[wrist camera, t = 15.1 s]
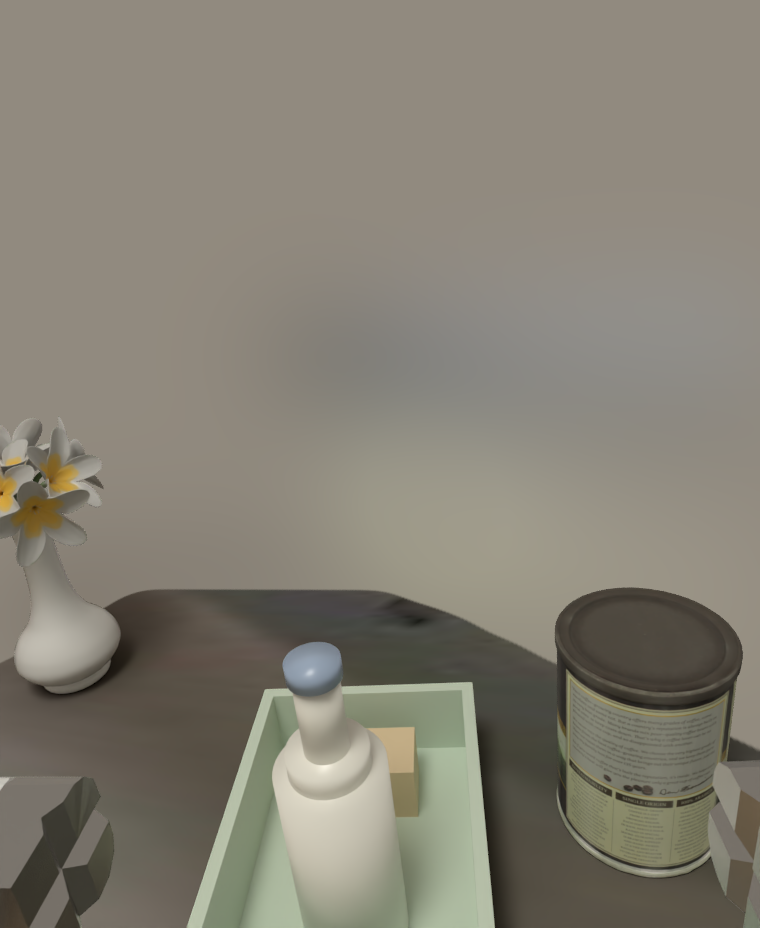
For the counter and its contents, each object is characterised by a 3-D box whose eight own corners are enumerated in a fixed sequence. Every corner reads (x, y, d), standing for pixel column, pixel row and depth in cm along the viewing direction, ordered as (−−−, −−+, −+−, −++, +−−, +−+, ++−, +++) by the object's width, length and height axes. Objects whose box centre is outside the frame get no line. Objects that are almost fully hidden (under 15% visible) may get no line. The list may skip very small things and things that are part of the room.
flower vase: (59, 761, 53) (-44, 478, 44) (-21, 674, 65) (-115, 437, 56) (196, 672, 62) (133, 421, 53) (103, 610, 74) (39, 396, 65)
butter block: (418, 769, 48) (414, 726, 47) (418, 817, 45) (413, 772, 43) (324, 771, 49) (317, 729, 48) (316, 818, 45) (308, 774, 44)
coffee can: (530, 768, 48) (527, 604, 43) (657, 734, 50) (669, 573, 45) (604, 901, 39) (612, 713, 34) (758, 854, 40) (787, 668, 35)
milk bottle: (410, 874, 41) (378, 620, 34) (406, 980, 35) (367, 701, 29) (315, 874, 42) (266, 625, 35) (297, 978, 36) (233, 705, 29)
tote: (475, 744, 51) (472, 682, 48) (507, 1101, 31) (503, 1022, 29) (277, 749, 52) (265, 689, 50) (184, 1092, 32) (157, 1016, 30)
